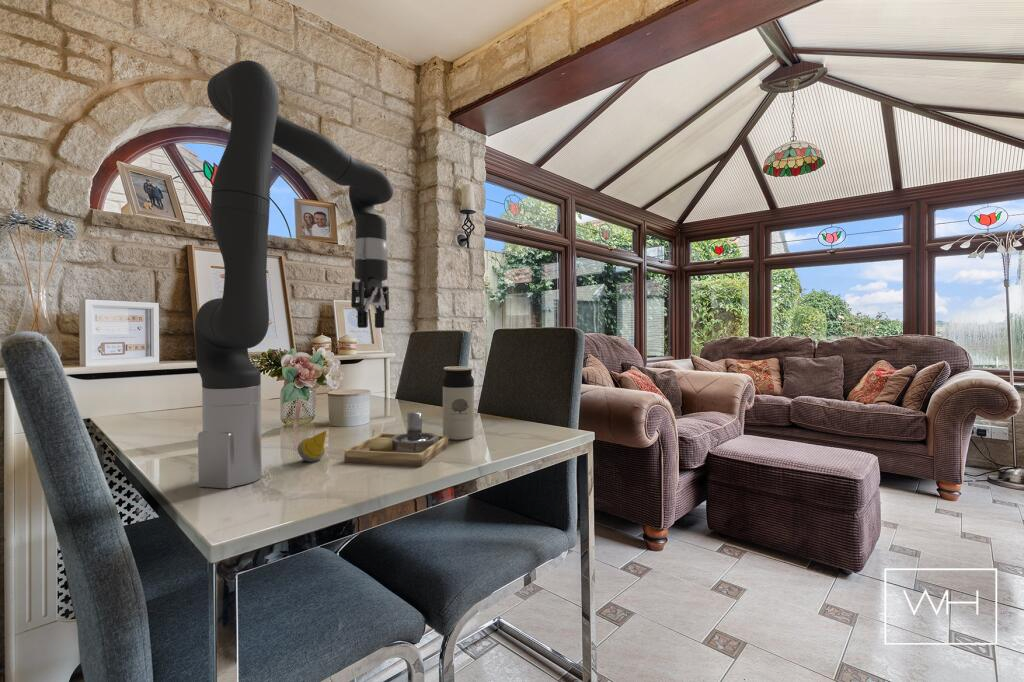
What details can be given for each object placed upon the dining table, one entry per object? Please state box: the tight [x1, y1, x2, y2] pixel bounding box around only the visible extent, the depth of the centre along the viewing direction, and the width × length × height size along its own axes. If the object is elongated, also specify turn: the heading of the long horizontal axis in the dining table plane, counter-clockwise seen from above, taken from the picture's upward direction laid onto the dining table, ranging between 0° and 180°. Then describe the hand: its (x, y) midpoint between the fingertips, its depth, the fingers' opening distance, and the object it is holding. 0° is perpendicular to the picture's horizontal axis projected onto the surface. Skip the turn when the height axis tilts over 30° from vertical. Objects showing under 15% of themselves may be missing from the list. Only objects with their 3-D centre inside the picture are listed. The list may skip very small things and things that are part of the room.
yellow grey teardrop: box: [297, 430, 327, 463], centre depth 100 cm, size 5×5×10 cm
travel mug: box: [442, 365, 475, 441], centre depth 123 cm, size 8×8×18 cm
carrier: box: [343, 432, 449, 467], centre depth 106 cm, size 17×17×4 cm
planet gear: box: [401, 411, 428, 442], centre depth 108 cm, size 6×6×8 cm
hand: (371, 327), depth 114 cm, fingers open, 8 cm apart
